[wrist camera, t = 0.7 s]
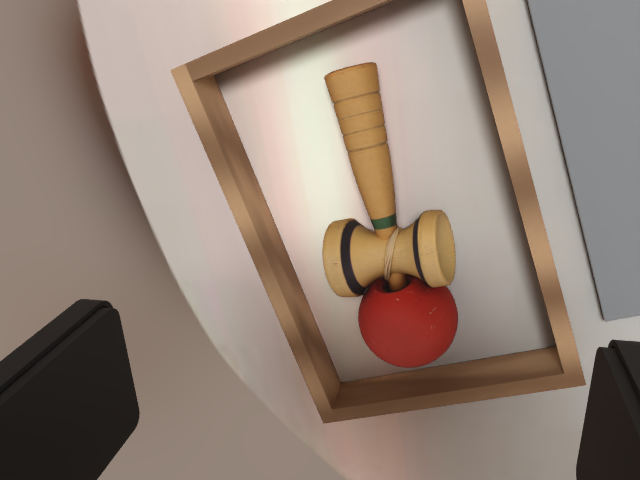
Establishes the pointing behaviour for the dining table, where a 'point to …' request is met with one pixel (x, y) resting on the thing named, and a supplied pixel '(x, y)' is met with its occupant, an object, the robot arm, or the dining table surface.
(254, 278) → the dining table surface
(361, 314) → the kendama
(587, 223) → the mat
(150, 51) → the dining table surface
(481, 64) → the wooden frame
